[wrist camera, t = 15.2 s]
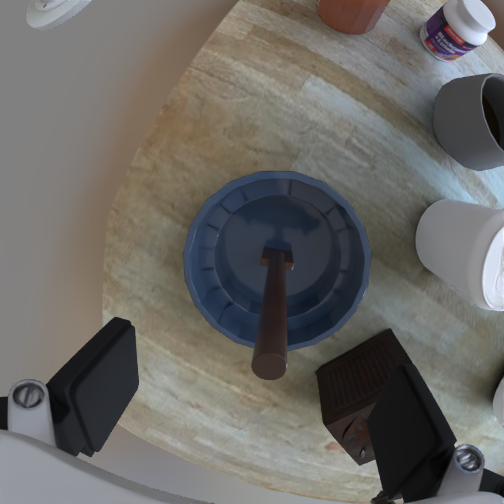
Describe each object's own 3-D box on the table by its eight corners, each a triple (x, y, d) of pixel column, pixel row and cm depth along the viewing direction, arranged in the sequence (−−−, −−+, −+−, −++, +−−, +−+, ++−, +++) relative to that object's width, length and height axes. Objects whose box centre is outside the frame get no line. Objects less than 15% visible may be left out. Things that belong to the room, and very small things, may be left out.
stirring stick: (262, 256, 28) (231, 374, 11) (264, 242, 28) (235, 346, 10) (290, 261, 28) (300, 385, 11) (293, 248, 28) (308, 358, 10)
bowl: (173, 233, 29) (149, 246, 23) (296, 142, 26) (300, 132, 20) (260, 343, 31) (255, 376, 25) (379, 269, 28) (399, 290, 22)
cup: (431, 176, 25) (489, 178, 15) (407, 90, 23) (454, 60, 13) (490, 164, 23) (547, 166, 14) (469, 88, 21) (521, 67, 12)
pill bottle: (418, 51, 21) (460, 16, 12) (417, 18, 20) (453, -20, 11) (457, 70, 21) (504, 45, 12) (455, 36, 20) (496, 7, 10)
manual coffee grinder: (308, 371, 32) (317, 504, 14) (391, 324, 29) (460, 440, 12) (356, 434, 34) (375, 535, 16) (423, 398, 31) (467, 493, 14)
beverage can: (409, 272, 28) (467, 322, 16) (414, 196, 26) (485, 209, 14) (464, 270, 27) (528, 311, 15) (471, 201, 25) (544, 217, 13)
